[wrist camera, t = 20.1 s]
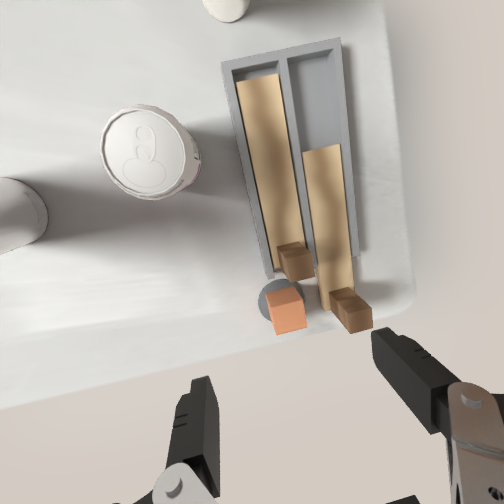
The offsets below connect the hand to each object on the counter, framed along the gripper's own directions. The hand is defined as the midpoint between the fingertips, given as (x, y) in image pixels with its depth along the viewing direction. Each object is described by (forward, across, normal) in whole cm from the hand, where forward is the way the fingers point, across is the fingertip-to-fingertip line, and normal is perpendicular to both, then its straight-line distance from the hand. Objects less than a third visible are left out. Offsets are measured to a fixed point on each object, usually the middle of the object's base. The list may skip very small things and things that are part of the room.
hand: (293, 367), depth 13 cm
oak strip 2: (+30, -14, +4) cm, 33 cm away
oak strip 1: (+30, -6, -6) cm, 31 cm away
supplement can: (+30, +7, -12) cm, 33 cm away
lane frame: (+30, -10, -6) cm, 32 cm away
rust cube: (+30, -4, +14) cm, 33 cm away
